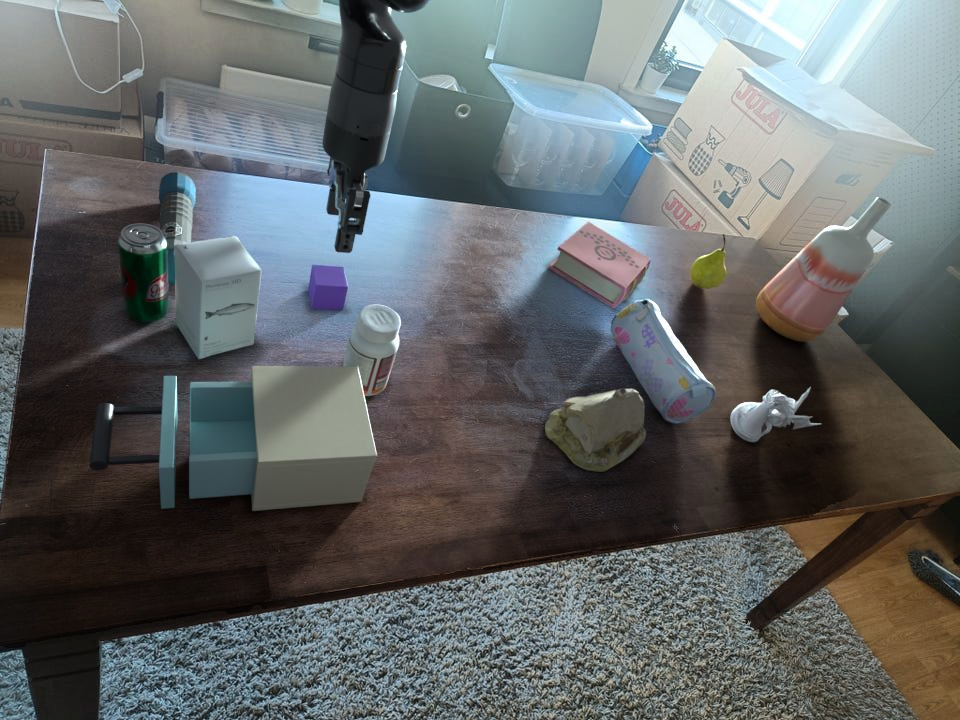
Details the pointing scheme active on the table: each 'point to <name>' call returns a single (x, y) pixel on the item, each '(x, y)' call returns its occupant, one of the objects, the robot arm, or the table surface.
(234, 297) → the white packaging box
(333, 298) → the purple cube
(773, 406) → the figurine
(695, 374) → the pencil case
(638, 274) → the book
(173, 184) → the flashlight
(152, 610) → the table surface
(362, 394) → the block
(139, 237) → the soda can
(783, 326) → the vase
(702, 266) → the fruit
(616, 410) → the beige rock
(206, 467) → the drawer
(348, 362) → the pill bottle
